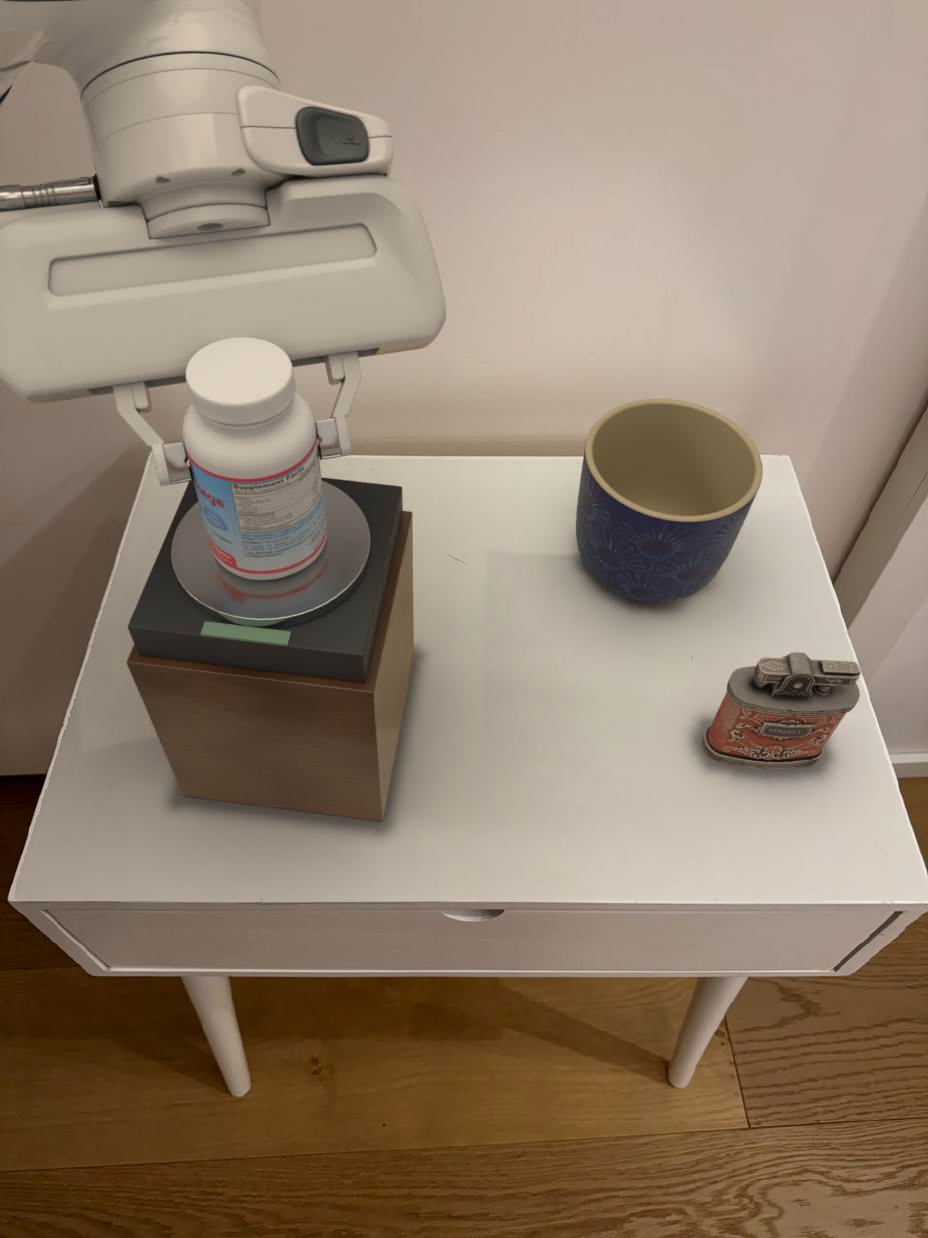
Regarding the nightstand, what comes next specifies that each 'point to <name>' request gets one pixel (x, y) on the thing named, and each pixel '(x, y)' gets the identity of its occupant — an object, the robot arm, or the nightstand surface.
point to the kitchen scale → (275, 593)
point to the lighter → (781, 712)
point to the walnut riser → (289, 720)
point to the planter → (663, 497)
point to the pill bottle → (254, 459)
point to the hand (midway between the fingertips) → (257, 470)
